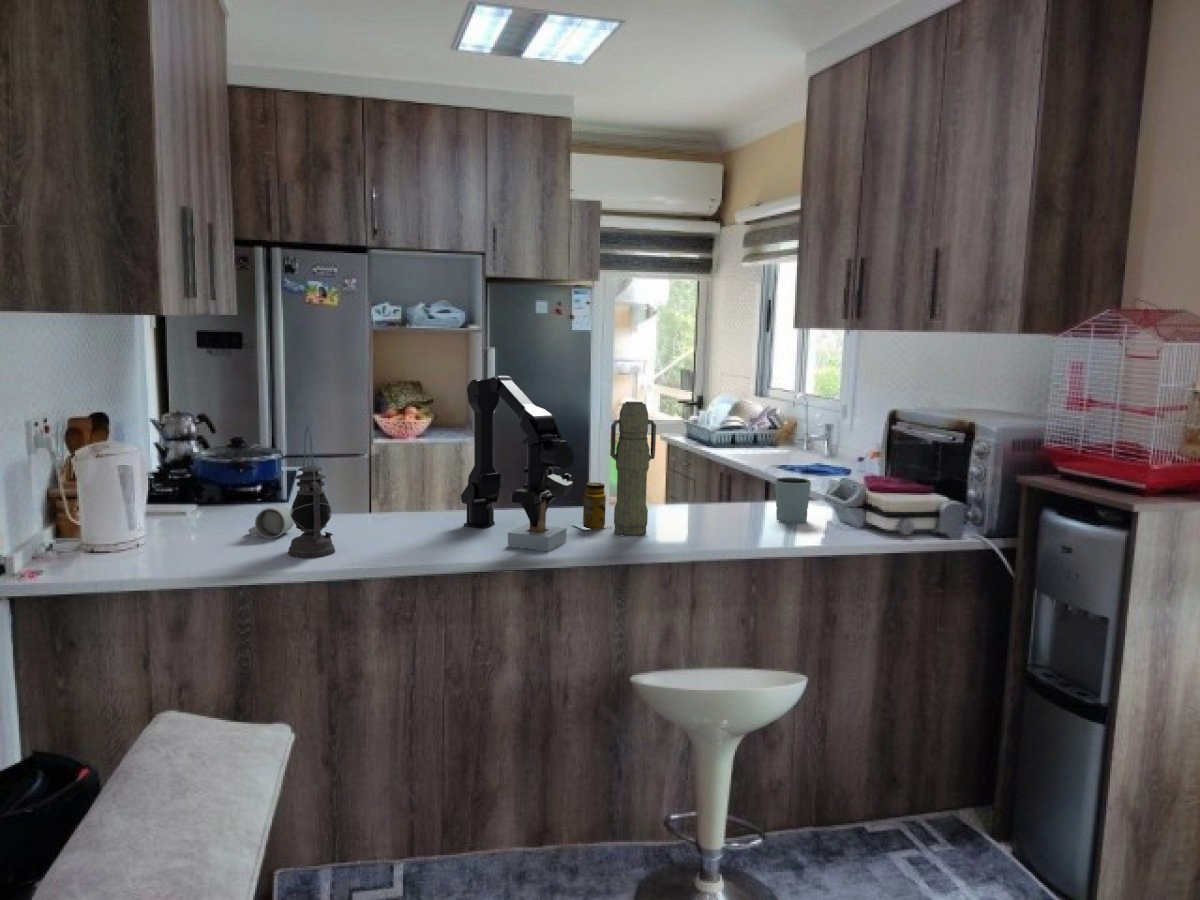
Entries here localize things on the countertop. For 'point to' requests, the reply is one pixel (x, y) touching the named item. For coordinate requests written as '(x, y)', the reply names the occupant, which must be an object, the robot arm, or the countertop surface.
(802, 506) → the grey cup
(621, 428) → the thermos
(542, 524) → the peg
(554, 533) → the holder
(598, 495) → the condiment
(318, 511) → the lantern
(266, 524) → the ceramic mug
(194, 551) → the countertop surface
